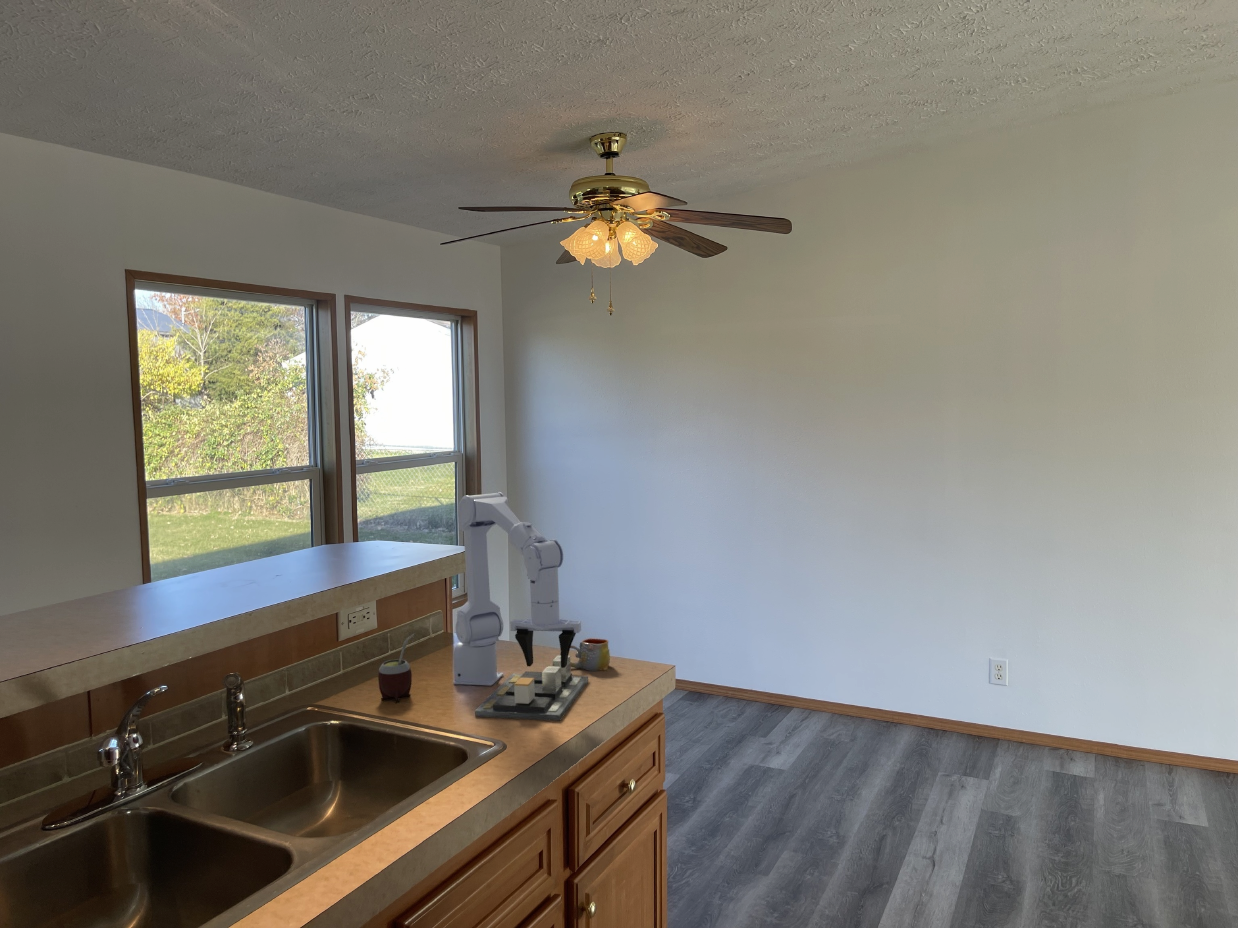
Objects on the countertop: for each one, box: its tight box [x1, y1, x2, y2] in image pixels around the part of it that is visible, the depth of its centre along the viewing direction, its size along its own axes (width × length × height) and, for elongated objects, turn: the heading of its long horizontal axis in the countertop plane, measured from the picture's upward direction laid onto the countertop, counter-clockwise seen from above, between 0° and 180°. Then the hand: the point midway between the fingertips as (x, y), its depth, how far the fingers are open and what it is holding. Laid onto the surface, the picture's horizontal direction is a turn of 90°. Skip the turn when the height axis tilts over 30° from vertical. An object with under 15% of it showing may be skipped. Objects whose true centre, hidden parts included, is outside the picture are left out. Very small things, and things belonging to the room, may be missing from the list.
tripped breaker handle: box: [514, 678, 535, 704], centre depth 171 cm, size 3×4×4 cm
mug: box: [559, 638, 611, 672], centre depth 200 cm, size 12×7×7 cm, turn 93°
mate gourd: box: [377, 632, 416, 704], centre depth 181 cm, size 8×8×15 cm
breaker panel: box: [474, 654, 589, 722], centre depth 179 cm, size 18×24×6 cm
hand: (546, 665), depth 170 cm, fingers open, 7 cm apart
